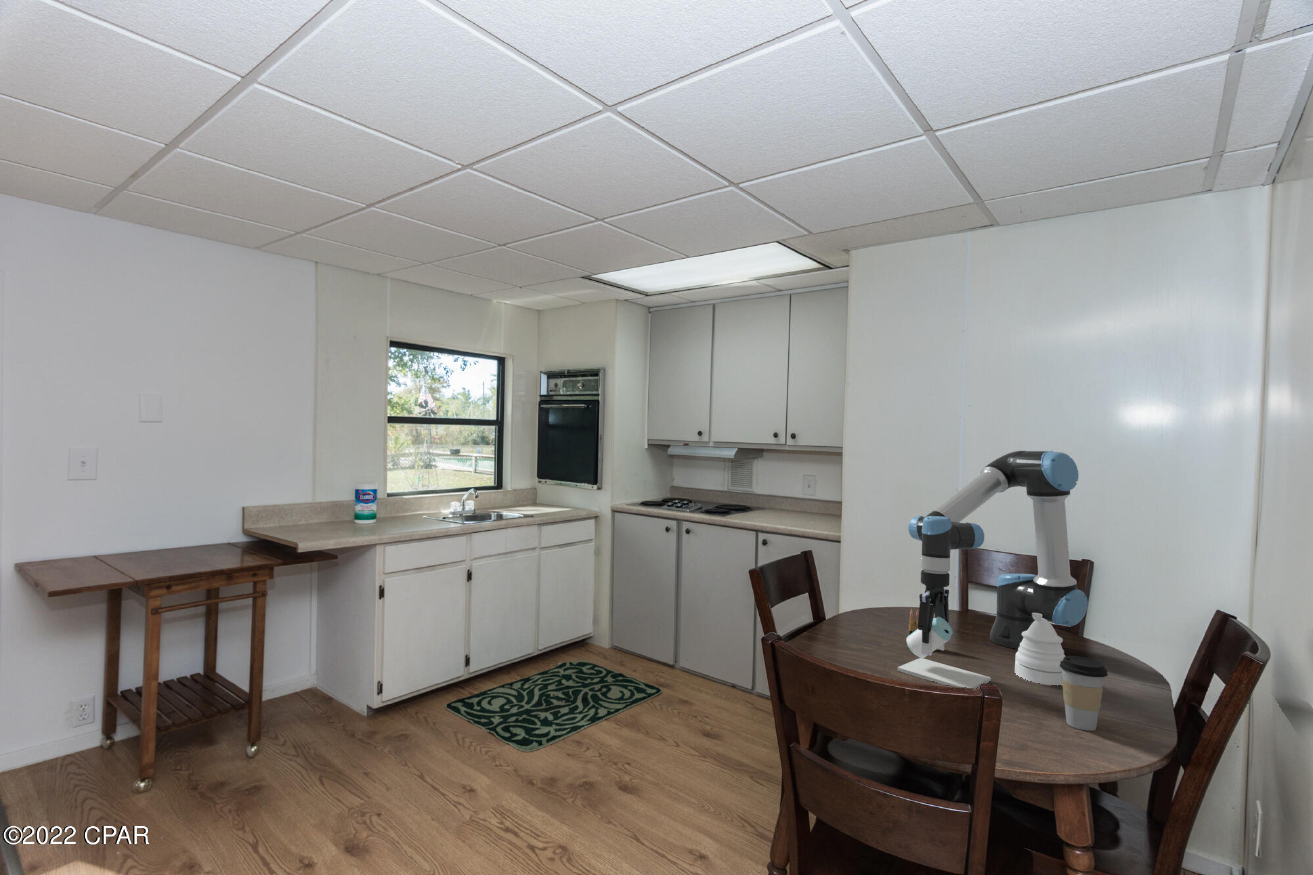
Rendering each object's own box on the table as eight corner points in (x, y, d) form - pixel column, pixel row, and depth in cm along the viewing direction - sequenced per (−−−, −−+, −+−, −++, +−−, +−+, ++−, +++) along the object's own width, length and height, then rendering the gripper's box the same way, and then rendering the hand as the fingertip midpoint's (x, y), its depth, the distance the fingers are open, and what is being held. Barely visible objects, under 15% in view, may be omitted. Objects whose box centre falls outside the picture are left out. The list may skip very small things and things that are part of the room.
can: (926, 652, 188) (957, 630, 182) (921, 663, 183) (952, 641, 176) (908, 633, 190) (937, 610, 184) (902, 643, 185) (932, 621, 178)
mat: (897, 670, 183) (897, 667, 183) (920, 660, 192) (920, 657, 192) (969, 692, 168) (969, 689, 168) (990, 681, 177) (990, 677, 177)
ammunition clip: (943, 649, 205) (944, 611, 205) (944, 650, 203) (945, 612, 203) (907, 644, 208) (908, 607, 208) (907, 646, 206) (909, 609, 206)
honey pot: (1041, 687, 174) (1043, 620, 174) (1004, 670, 186) (1006, 608, 187) (1078, 684, 177) (1080, 619, 178) (1039, 667, 190) (1041, 607, 190)
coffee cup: (1048, 716, 154) (1050, 654, 154) (1085, 716, 155) (1087, 654, 155) (1077, 734, 145) (1079, 668, 145) (1116, 734, 146) (1118, 668, 146)
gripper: (937, 565, 192) (935, 641, 192) (905, 572, 179) (903, 654, 179) (963, 569, 186) (961, 648, 186) (932, 577, 173) (929, 662, 173)
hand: (932, 651), depth 182 cm, fingers closed on can, 7 cm apart
